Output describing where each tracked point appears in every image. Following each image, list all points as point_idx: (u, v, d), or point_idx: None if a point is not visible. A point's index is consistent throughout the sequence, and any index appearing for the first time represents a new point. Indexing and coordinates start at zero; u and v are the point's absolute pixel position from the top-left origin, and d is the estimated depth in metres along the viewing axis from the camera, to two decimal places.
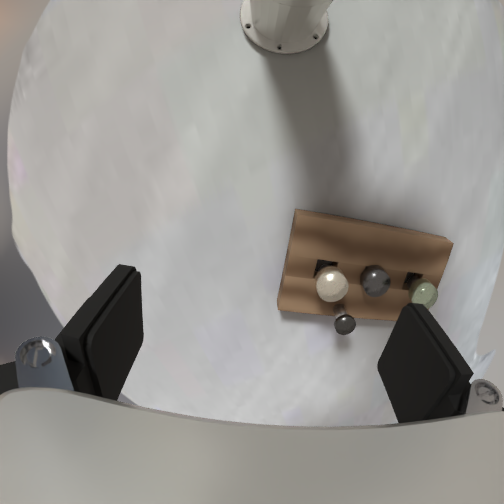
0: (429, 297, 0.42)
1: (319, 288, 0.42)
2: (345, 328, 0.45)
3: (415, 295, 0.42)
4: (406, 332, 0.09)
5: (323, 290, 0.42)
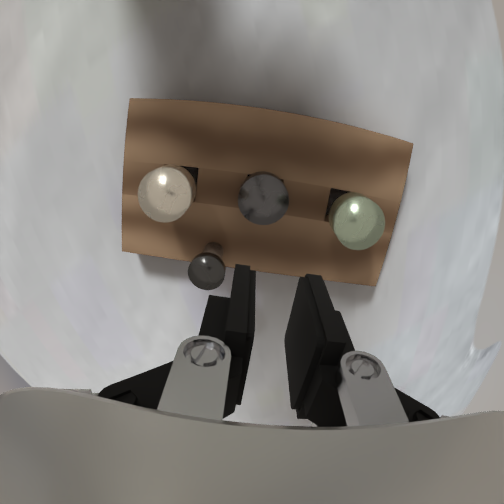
0: (367, 223, 0.24)
1: (141, 196, 0.24)
2: (206, 277, 0.27)
3: (336, 217, 0.24)
4: (299, 302, 0.10)
5: (147, 200, 0.24)
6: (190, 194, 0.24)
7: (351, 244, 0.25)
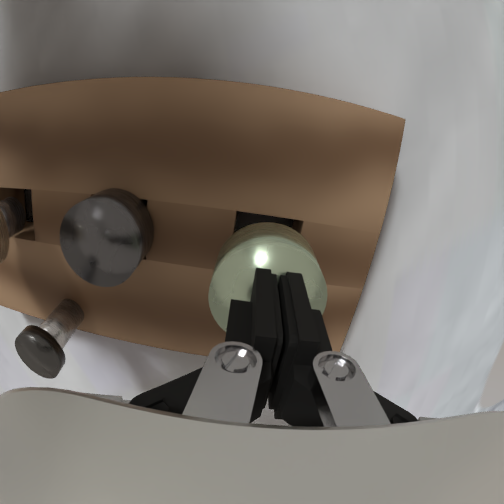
0: None
1: None
2: (38, 362, 0.14)
3: None
4: (278, 300, 0.10)
5: None
6: None
7: None
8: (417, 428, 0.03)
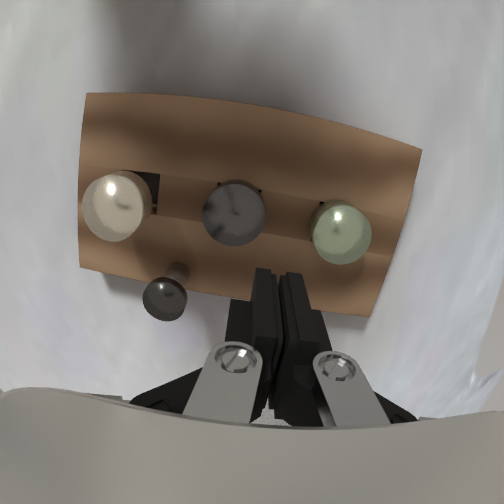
0: (351, 235, 0.22)
1: (85, 210, 0.19)
2: (164, 307, 0.22)
3: (315, 227, 0.22)
4: (278, 300, 0.10)
5: (92, 214, 0.19)
6: (140, 208, 0.19)
7: (332, 257, 0.22)
8: (417, 428, 0.03)
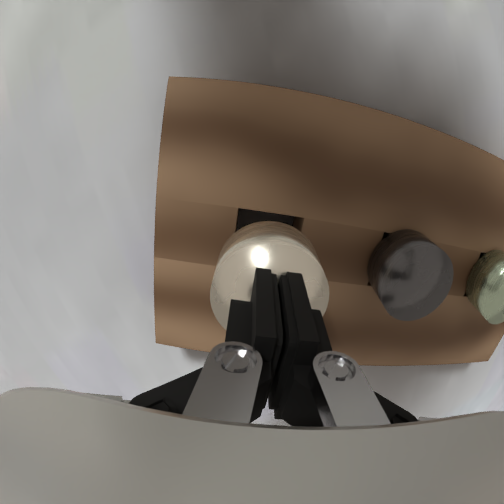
0: None
1: (217, 298, 0.11)
2: None
3: (489, 289, 0.14)
4: (278, 300, 0.10)
5: None
6: None
7: (494, 318, 0.15)
8: (417, 428, 0.03)
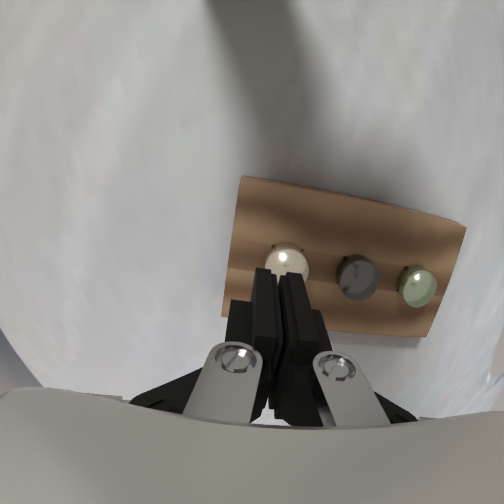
0: (425, 289, 0.31)
1: None
2: None
3: (406, 285, 0.31)
4: (278, 300, 0.10)
5: None
6: None
7: (413, 303, 0.32)
8: (417, 428, 0.03)
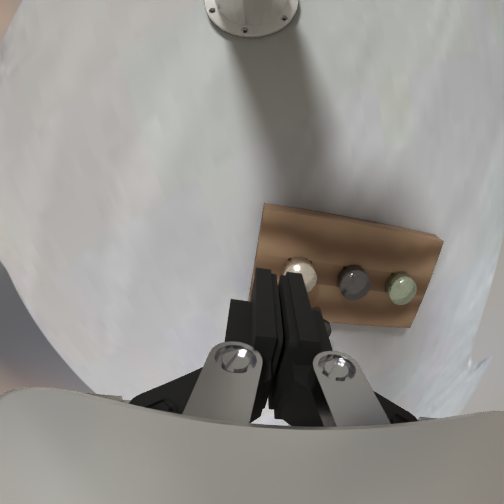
0: (407, 291, 0.41)
1: None
2: None
3: (392, 288, 0.41)
4: (278, 300, 0.10)
5: None
6: None
7: (398, 302, 0.42)
8: (417, 428, 0.03)
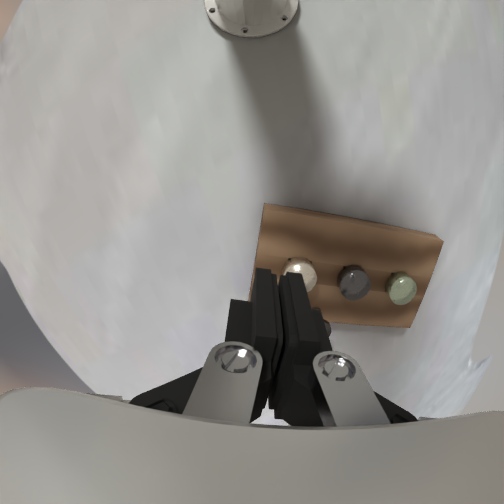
0: (407, 291, 0.41)
1: None
2: None
3: (392, 288, 0.41)
4: (278, 300, 0.10)
5: None
6: None
7: (398, 302, 0.42)
8: (417, 428, 0.03)
